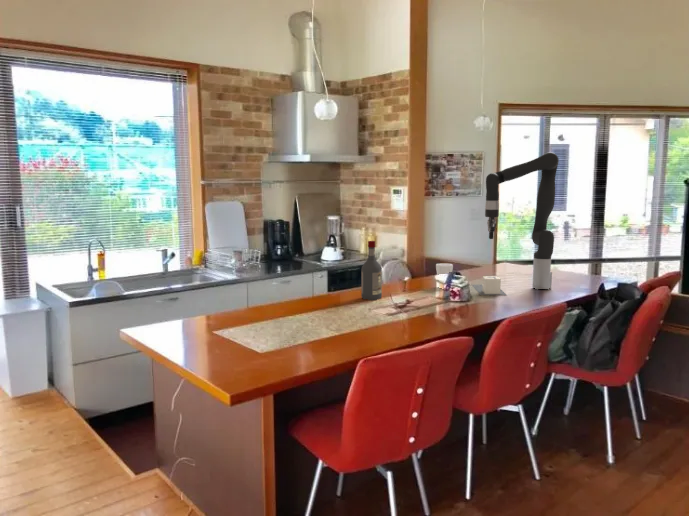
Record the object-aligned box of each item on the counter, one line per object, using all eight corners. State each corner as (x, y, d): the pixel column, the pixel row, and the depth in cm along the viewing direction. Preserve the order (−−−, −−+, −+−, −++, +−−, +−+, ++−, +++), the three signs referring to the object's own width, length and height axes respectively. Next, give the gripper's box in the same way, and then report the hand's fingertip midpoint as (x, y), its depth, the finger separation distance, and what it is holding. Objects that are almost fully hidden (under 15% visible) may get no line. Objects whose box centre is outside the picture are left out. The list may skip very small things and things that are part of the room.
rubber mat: (471, 285, 338) (471, 284, 338) (495, 285, 337) (495, 284, 337) (480, 295, 310) (480, 294, 310) (506, 295, 309) (506, 294, 309)
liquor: (359, 299, 303) (359, 241, 298) (367, 295, 311) (367, 239, 306) (375, 300, 298) (375, 242, 294) (383, 297, 306) (383, 240, 302)
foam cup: (432, 286, 335) (432, 264, 334) (445, 285, 339) (446, 263, 337) (441, 289, 327) (442, 266, 325) (455, 287, 331) (456, 265, 329)
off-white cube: (485, 278, 311) (485, 293, 312) (500, 279, 310) (500, 293, 311) (482, 276, 318) (482, 290, 320) (497, 276, 318) (497, 290, 319)
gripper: (501, 209, 326) (500, 240, 328) (496, 207, 339) (495, 237, 341) (487, 209, 326) (486, 240, 329) (483, 207, 339) (482, 237, 342)
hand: (491, 238), depth 335 cm, fingers closed
